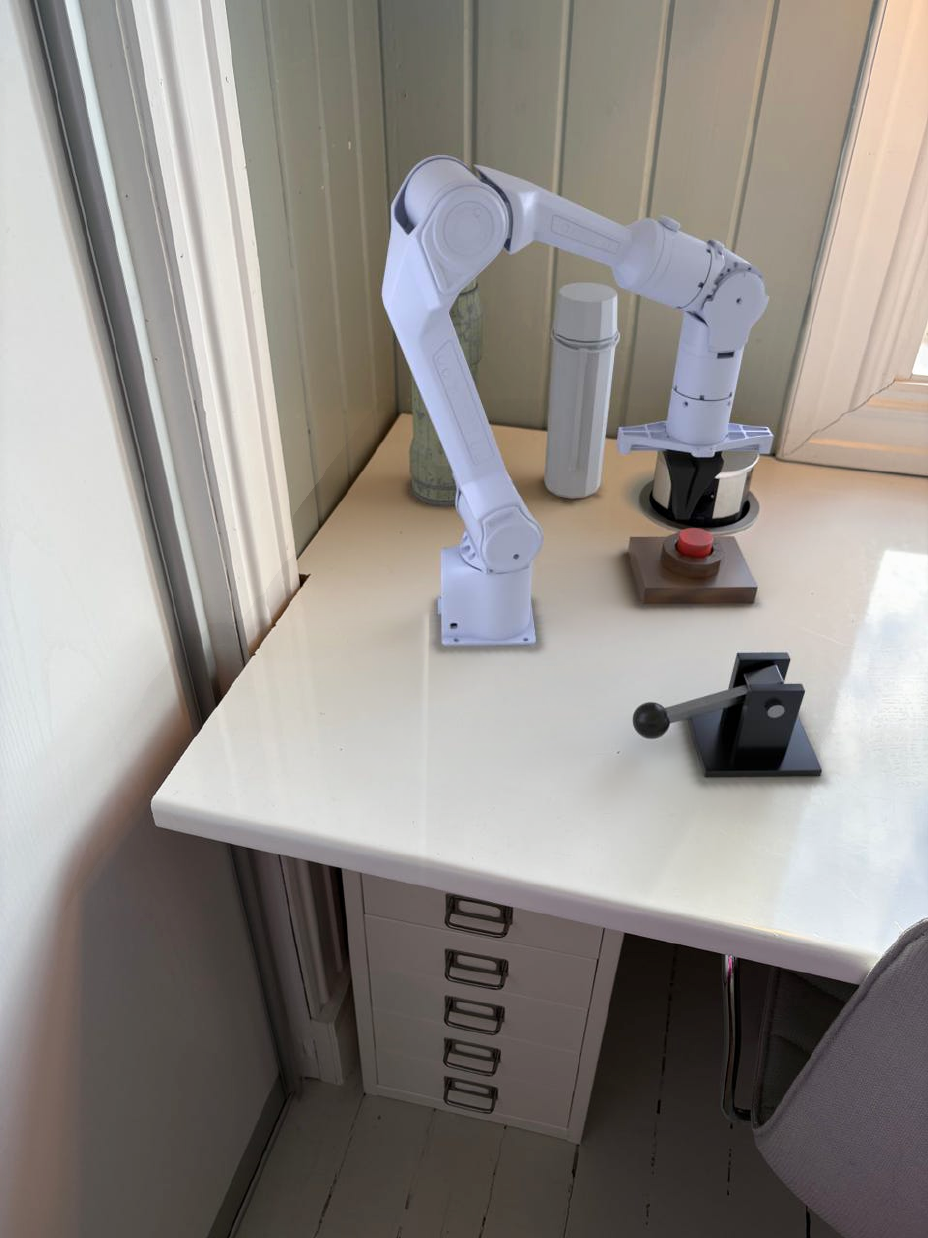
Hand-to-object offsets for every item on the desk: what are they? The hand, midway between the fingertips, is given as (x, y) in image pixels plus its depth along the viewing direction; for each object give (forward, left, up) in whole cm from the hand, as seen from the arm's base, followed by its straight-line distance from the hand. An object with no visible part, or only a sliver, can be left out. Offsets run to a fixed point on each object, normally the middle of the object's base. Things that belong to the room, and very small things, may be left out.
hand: (680, 514), depth 94 cm
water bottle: (-8, +23, -11) cm, 26 cm away
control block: (+3, +4, -10) cm, 11 cm away
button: (+3, +3, -7) cm, 8 cm away
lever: (-1, -22, -7) cm, 24 cm away
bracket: (+3, -22, -10) cm, 25 cm away
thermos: (-24, +24, -11) cm, 35 cm away
